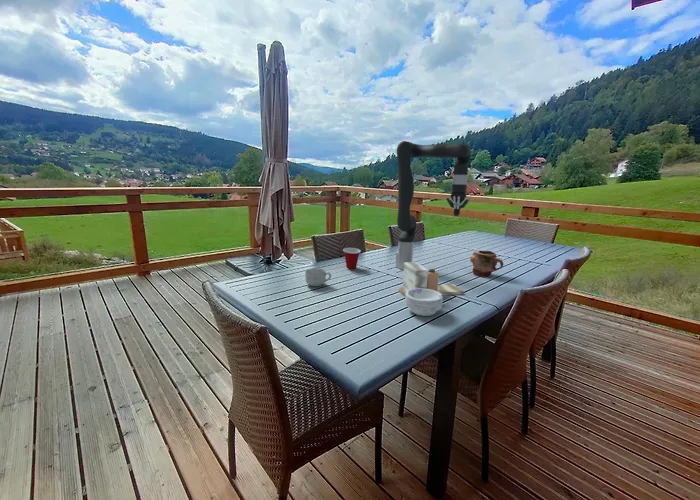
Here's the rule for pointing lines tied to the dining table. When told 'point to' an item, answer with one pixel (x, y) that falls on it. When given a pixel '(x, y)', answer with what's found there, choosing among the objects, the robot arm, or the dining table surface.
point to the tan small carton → (432, 279)
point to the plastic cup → (351, 257)
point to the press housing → (422, 280)
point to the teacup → (316, 276)
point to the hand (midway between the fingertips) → (456, 215)
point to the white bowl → (423, 301)
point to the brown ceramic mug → (484, 263)
